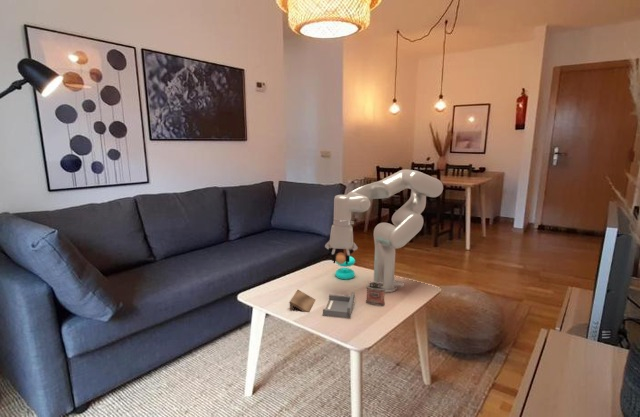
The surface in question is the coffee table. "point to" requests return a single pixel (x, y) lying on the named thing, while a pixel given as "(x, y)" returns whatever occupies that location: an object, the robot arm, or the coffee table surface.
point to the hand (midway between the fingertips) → (340, 262)
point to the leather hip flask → (375, 293)
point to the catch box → (339, 306)
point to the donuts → (346, 270)
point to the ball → (340, 258)
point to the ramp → (301, 301)
